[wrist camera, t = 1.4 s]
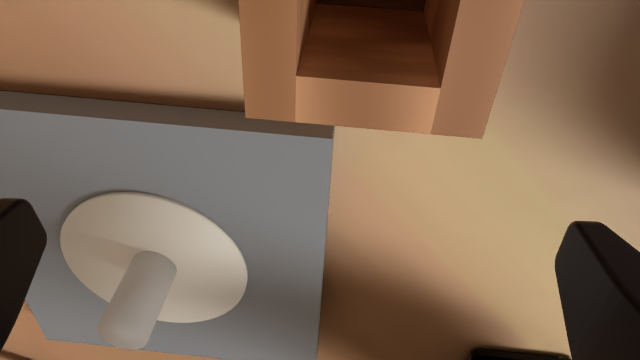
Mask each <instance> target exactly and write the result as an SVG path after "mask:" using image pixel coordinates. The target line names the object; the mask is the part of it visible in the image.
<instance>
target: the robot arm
mask: <svg viewBox="0 0 640 360" xmlns="http://www.w3.org/2000/svg"><path fill="white" fill-rule="evenodd" d="M46 244H47V233H46V230H45V228H44V227H43V225H42V223H41V221H40V219H39V217H38V216H37V214H36V212H35V210H34V208H33V206H32V205H31V203H30V202H29V201H27V200H26V199H21V198H1V199H0V352H1V350H2V348H3V346H4V344H5V342H6V341H7V339H8V337H9V335H10V333H11V331H12V328H13V326H14V324H15V322H16V320H17V318H18V315H19V313H20V311H21V308H22V306H23V303H24V300H25V298H26V295H27V293H28V290H29V288H30V285H31V283H32V280H33V278H34V275H35V273H36V270H37V268H38V265H39V263H40V260H41V257H42V255H43V252H44V250H45V247H46ZM555 272H556V277H557V283H558V288H559V294H560V299H561V304H562V310H563V315H564V321H565V326H566V331H567V337H568V342H569V347H570V352H571V356H572V360H640V252H639V251H638V250H636V249H635V248H634V247H632V246H631V245H630V244H629V243H627V242H626V241H625V240H624V239H622V238H621V237H620V236H618V235H617V234H616V233H615V232H613V231H612V230H611V229H609V228H608V227H607V226H606V225H604V224H602V223H600V222H592V221H574V222H572V223H571V224H570V225H569V226H568V228H567V231H566V233H565V235H564V238H563V240H562V243H561V245H560V247H559V250H558V252H557V255H556V259H555ZM467 360H571V359H565V358H556V357H547V356H537V355H528V354H519V353H510V352H500V351H491V350H482V349H476V350H473V351H471V353H470V355H469V357H468V359H467Z"/></svg>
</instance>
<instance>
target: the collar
mask: <svg viewBox="0 0 640 360" xmlns="http://www.w3.org/2000/svg"><path fill="white" fill-rule="evenodd" d="M524 1H525V0H426V5H425V10H424V12H419V11H406V10H393V9H380V8H368V7H355V6H342V5H329V4H317V0H238V3H239V19H240V36H241V52H242V69H243V85H244V101H245V118H254V119H265V120H276V121H288V122H299V123H310V124H321V125H333V126H344V127H355V128H367V129H378V130H389V131H400V132H412V133H423V134H434V135H446V136H457V137H468V138H479V139H482V137H483V134H484V130H485V127H486V124H487V121H488V117H489V114H490V111H491V108H492V105H493V101H494V98H495V95H496V92H497V88H498V85H499V82H500V79H501V75H502V72H503V69H504V66H505V62H506V59H507V56H508V53H509V49H510V46H511V43H512V40H513V36H514V33H515V30H516V27H517V23H518V20H519V17H520V14H521V10H522V7H523V4H524Z"/></svg>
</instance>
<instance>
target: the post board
mask: <svg viewBox="0 0 640 360" xmlns="http://www.w3.org/2000/svg"><path fill="white" fill-rule="evenodd" d="M334 127H335V126H333V125H321V124H310V123H299V122H288V121H276V120H265V119H254V118H245V112H237V111H226V110H214V109H203V108H192V107H180V106H169V105H158V104H146V103H135V102H124V101H112V100H101V99H90V98H78V97H67V96H55V95H44V94H33V93H21V92H10V91H0V199H1V198H21V199H26V200H27V201H29V202H30V203H31V205H32V206H33V208H34V210H35V212H36V214H37V216H38V217H39V219H40V221H41V223H42V225H43V227H44V228H45V230H46V233H47V244H46V247H45V250H44V252H43V255H42V257H41V260H40V263H39V265H38V268H37V270H36V273H35V275H34V278H33V280H32V283H31V285H30V288H29V290H28V293H27V295H26V298H25V300H26V302H27V304H28V306H29V307H30V309H31V311H32V313H33V315H34V317H35V318H36V320H37V322H38V324H39V326H40V328H41V329H42V331H43V333H44V335H45V337H46V339H48V340H57V341H66V342H75V343H84V344H93V345H102V346H111V347H118V348H122V349H128V350H136V349H137V350H146V351H155V352H164V353H173V354H182V355H191V356H200V357H209V358H218V359H227V360H317V351H318V339H319V326H320V313H321V299H322V286H323V273H324V260H325V246H326V233H327V220H328V206H329V193H330V180H331V167H332V153H333V140H334Z"/></svg>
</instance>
